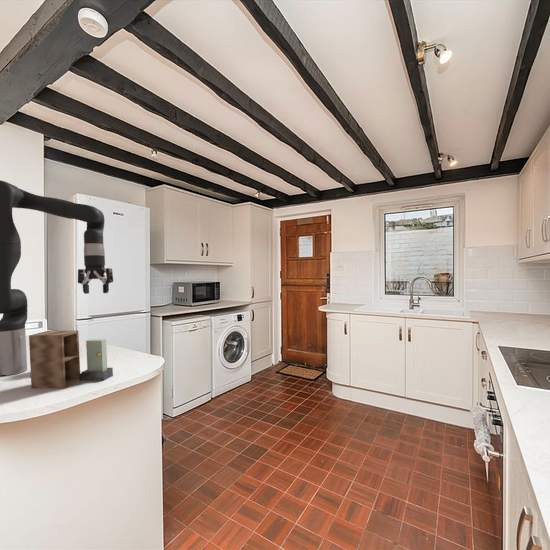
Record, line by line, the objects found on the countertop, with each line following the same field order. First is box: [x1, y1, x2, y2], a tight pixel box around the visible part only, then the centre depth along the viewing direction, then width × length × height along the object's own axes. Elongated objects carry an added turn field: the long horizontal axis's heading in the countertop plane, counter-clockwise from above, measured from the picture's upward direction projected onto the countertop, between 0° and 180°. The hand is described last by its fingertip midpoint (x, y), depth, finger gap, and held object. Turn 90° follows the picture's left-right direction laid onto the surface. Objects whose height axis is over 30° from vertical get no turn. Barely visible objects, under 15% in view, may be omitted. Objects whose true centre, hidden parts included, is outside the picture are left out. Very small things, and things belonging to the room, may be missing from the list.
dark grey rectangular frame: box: [79, 367, 114, 381], centre depth 112 cm, size 9×5×3 cm, turn 84°
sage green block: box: [85, 338, 108, 372], centre depth 112 cm, size 6×4×14 cm, turn 84°
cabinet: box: [28, 330, 81, 389], centre depth 107 cm, size 12×8×18 cm, turn 84°
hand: (96, 293), depth 129 cm, fingers open, 8 cm apart
